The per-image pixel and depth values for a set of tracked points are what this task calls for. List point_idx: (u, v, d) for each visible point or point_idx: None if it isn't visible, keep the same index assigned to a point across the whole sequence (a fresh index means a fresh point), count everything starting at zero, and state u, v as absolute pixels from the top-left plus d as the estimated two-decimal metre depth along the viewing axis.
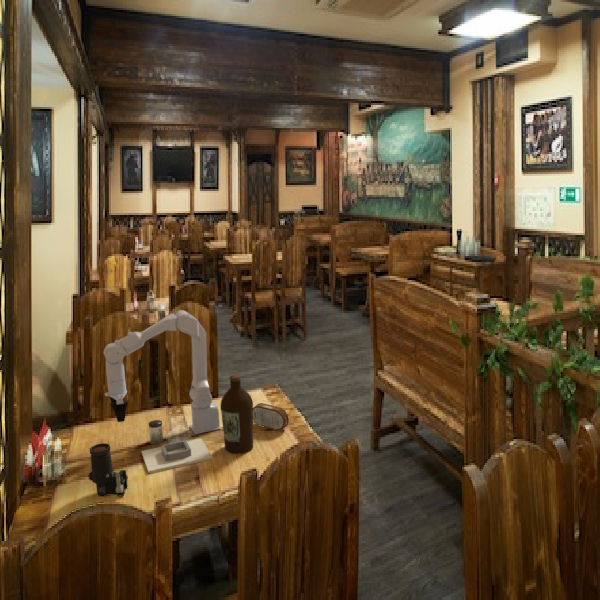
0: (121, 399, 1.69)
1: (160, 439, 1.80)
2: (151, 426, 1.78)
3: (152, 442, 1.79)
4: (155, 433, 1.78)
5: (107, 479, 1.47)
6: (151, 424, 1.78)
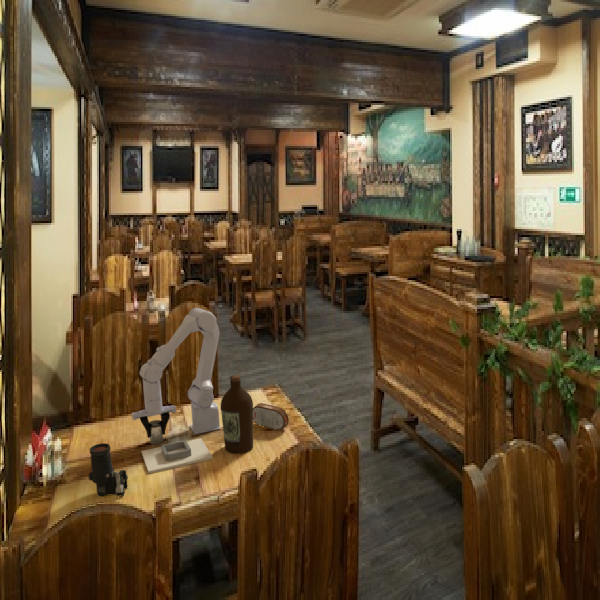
0: (132, 415, 1.76)
1: (160, 439, 1.80)
2: (151, 426, 1.78)
3: (152, 442, 1.79)
4: (155, 433, 1.78)
5: (107, 479, 1.47)
6: (151, 424, 1.78)
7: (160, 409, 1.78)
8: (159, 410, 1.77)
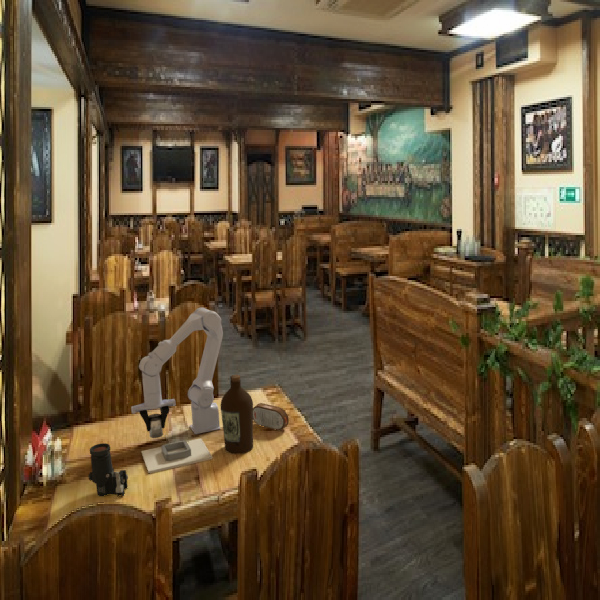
0: (131, 409, 1.75)
1: (160, 433, 1.79)
2: (150, 419, 1.77)
3: (152, 436, 1.78)
4: (154, 426, 1.78)
5: (107, 479, 1.47)
6: (150, 418, 1.78)
7: (159, 402, 1.77)
8: (158, 403, 1.77)
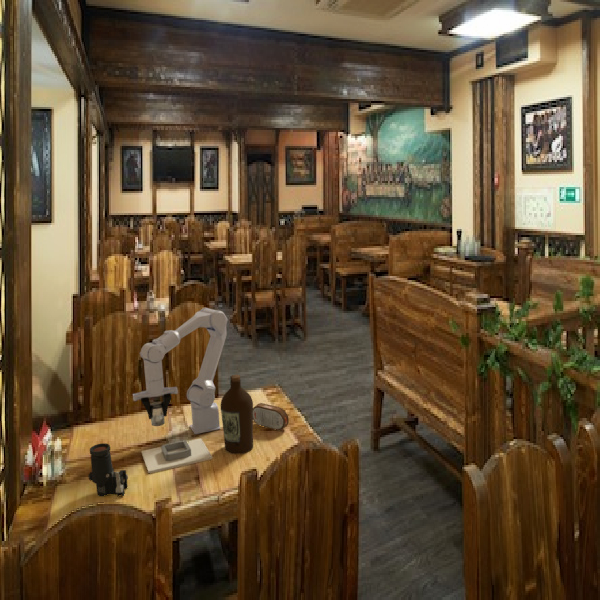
0: (133, 396, 1.72)
1: (162, 421, 1.76)
2: (152, 407, 1.75)
3: (153, 424, 1.76)
4: (156, 414, 1.75)
5: (107, 479, 1.47)
6: (152, 405, 1.75)
7: (161, 390, 1.74)
8: (160, 391, 1.74)
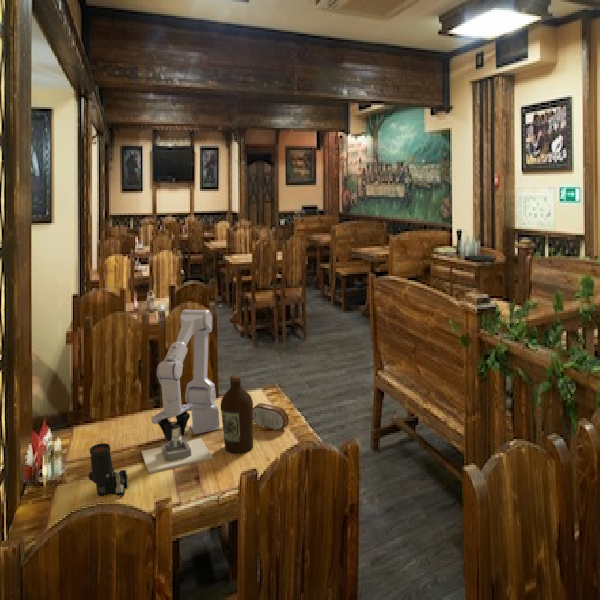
0: (153, 419, 1.62)
1: (181, 441, 1.69)
2: (172, 428, 1.66)
3: (173, 445, 1.67)
4: (176, 434, 1.67)
5: (107, 479, 1.47)
6: (171, 426, 1.67)
7: (181, 408, 1.67)
8: (180, 409, 1.66)
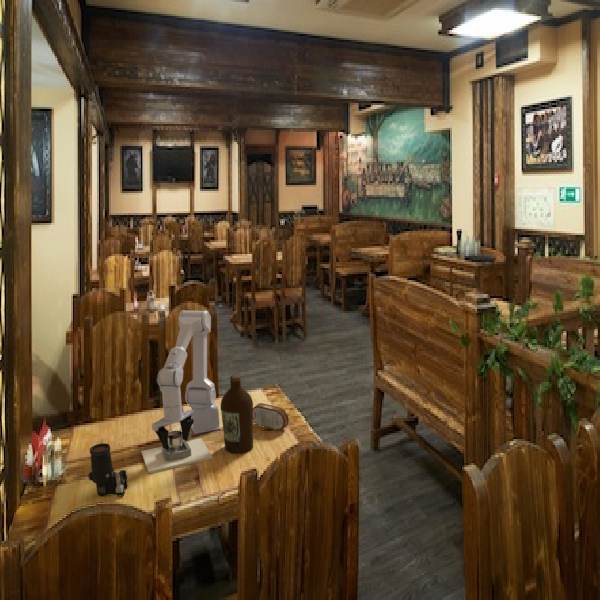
0: (154, 426, 1.62)
1: None
2: (173, 437, 1.67)
3: None
4: (177, 444, 1.67)
5: (107, 479, 1.47)
6: (172, 435, 1.67)
7: (181, 415, 1.67)
8: (181, 416, 1.67)
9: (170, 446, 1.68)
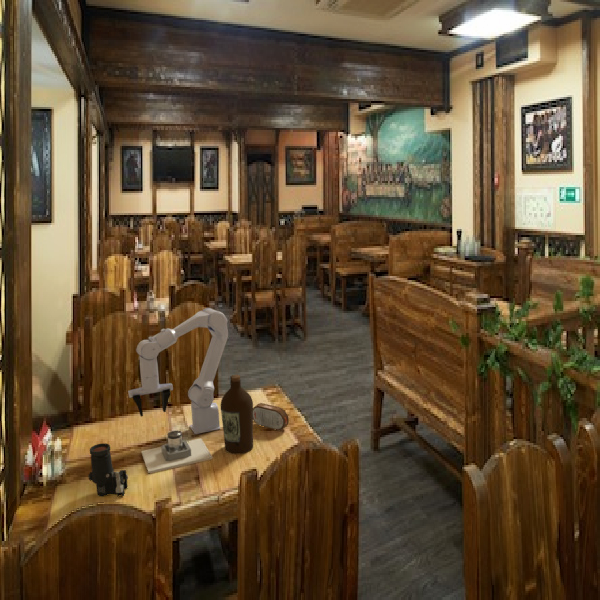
0: None
1: None
2: (173, 437, 1.67)
3: None
4: (177, 444, 1.67)
5: (107, 479, 1.47)
6: (172, 435, 1.67)
7: (157, 386, 1.76)
8: (156, 387, 1.76)
9: (170, 446, 1.67)
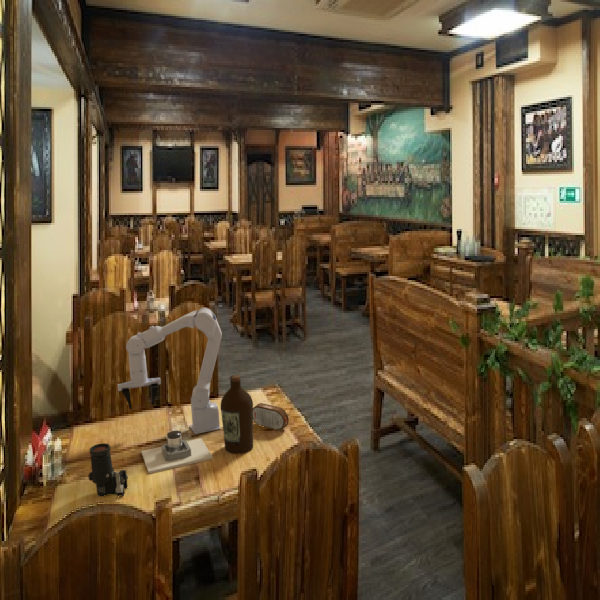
0: (118, 386, 1.81)
1: None
2: (173, 437, 1.67)
3: None
4: (177, 444, 1.67)
5: (107, 479, 1.47)
6: (172, 435, 1.67)
7: (145, 380, 1.83)
8: (144, 381, 1.83)
9: (170, 446, 1.68)
